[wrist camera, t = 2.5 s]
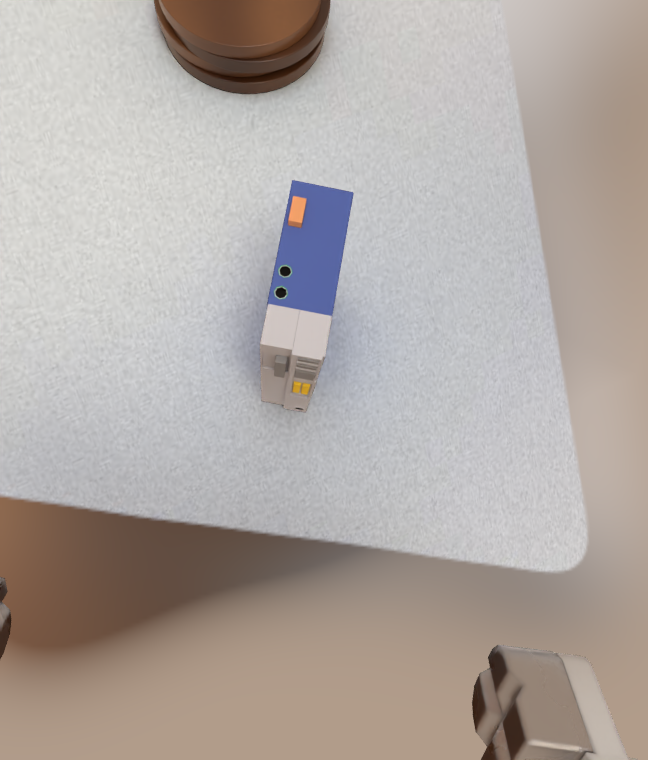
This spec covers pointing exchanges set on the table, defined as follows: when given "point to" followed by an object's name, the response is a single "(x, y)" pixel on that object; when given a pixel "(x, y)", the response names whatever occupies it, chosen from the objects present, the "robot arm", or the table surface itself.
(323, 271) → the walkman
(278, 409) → the table surface
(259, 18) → the brown round disc
